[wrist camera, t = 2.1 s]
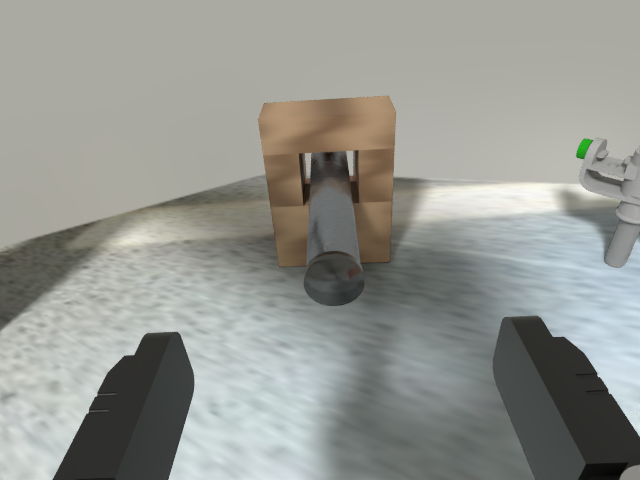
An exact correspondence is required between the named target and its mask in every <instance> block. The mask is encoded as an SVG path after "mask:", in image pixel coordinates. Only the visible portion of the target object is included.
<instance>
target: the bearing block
mask: <svg viewBox="0 0 640 480" xmlns="http://www.w3.org/2000/svg"><path fill="white" fill-rule="evenodd" d="M395 120H396V111H395V108H394V106H393V104H392V102H391V100H390V98H389V96H375V97H358V98H341V99H327V100H326V99H325V100H308V101H291V102H274V103H264V105H263V108H262V110H261V113H260V116H259V118H258V122H259V129H260V136H261V143H262V150H263V157H264V163H265V171H266V178H267V185H268V192H269V199H270V206H271V213H272V220H273V227H274V234H275V241H276V248H277V255H278V262H279V267H286V266H306V265H307V243H308V221H309V198H310V184H305V181H304V169H303V158H302V153H316V152H334V151H351V150H355V153H356V181H350V185H351V193H352V201H353V209H354V217H355V225H356V233H357V241H358V249H359V257H360V263H373V262H390V244H391V219H392V195H393V170H394V145H395Z"/></svg>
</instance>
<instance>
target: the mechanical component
mask: <svg viewBox="0 0 640 480" xmlns="http://www.w3.org/2000/svg"><path fill="white" fill-rule="evenodd" d="M606 146H607V140H606V139H601V138H596V139H595V140H590V139H583V140H582V142H581V143H580V145H579V148H578V150H577V155H576V156H577V158H580V159H584V162H583V165H582V168H581V171H580V175H579V180H580V183H581V185H582V186H583V187H584V188H585V189H586V190H588V191H591V192H594V193H597V194H601V195H604V196H608V197H611V198H615V199H618V200H621V202H620V205H619V207H618V208H616V210H615V214H616V216H617V217H618V218H620V220H619V223H618V225H617V228H616V231H615V234H614V236H613V239H612V241H611V243H610V246H609V249H608V251H607V254H606V256H605V262H606V263H607V264H608V265H610V266H613V267H617V268H620V267H622V266H623V265H624V264H625V263H626V262H627V259H628V257H629V256H630V253H631V251H632V249H633V246H634V243H635V241H636V238H637V236H638V234H639V232H640V146H639V148H637V149H636V150H635V153H634V155H633V156H628V157H627V158H626V159H625V160H620V159H615V158H611V157H607V155H608V151H606V150H605V149H606ZM611 166H614V167H611ZM598 172H602V173H606V174H609V175H613V176H618V177H621V178H624V181H620V180H616V179H612V178H608V177H605V176H602V175H600V174H599V173H598Z"/></svg>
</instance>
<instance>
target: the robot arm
mask: <svg viewBox="0 0 640 480" xmlns="http://www.w3.org/2000/svg"><path fill="white" fill-rule="evenodd" d="M493 372H494V378H495V381H496V385H497V387H498V390H499V392H500V394H501V397H502V399H503V402H504V404H505V407H506V409H507V412H508V414H509V416H510V419H511V421H512V424H513V426H514V429H515V431H516V434H517V436H518V438H519V441H520V443H521V446H522V448H523V451H524V453H525V456H526V458H527V460H528V463H529V465H530V468H531V470H532V473H533V475H534V478H535V480H640V437H639V435H638V434H637V432H636V431H635V429H634V428H633V426H632V425H631V423H630V422H629V420H628V419H627V417H626V416H625V414H624V413H623V411H622V410H621V408H620V407H619V405H618V404H617V402H616V401H615V399H614V398H613V396H612V395H611V394H609V392H608V389H607V387H606V385H605V384H604V382H603V381H602V379H601V378H600V377H598V376H597V372H596V370H595V369H594V367H593V366H592V364H591V363H590V361H589V360H588V358H587V357H586V355H585V354H584V353H583V352H582V351H581V350H579V349H578V348H577V347H576V346H575V345H573V344H572V343H571V342H570V341H568V340H567V339H566V338H565V337H552V335H551V333H550V332H549V330H548V329H547V327H546V325H545V324H544V322H543V321H542V319H541V318H540V317H538V316H520V317H505V318H504V319H503V320H502V323H501V327H500V331H499V336H498V340H497V345H496V349H495V353H494V358H493ZM193 392H194V373H193V369H192V367H191V364H190V361H189V358H188V355H187V352H186V349H185V347H184V344H183V341H182V338H181V336H180V334H179V333H178V332H163V333H147V334H145V335H144V337H143V338H142V340H141V342H140V344H139V346H138V349H137V351H136V353H135V355H130V356H124V357H123V358H122V359H121V360H120V361H119V362H118V363H117V364H116V365H115V366H114V367H113V368H112V369H111V370H110V371H109V372H108V373H107V375H106V377H105V379H104V381H103V383H102V385H101V387H100V389H99V391H98V393H97V394H98V395H97V397H95V398H94V400H93V402H92V404H91V406H90V408H89V413H88V414H86V416H85V418H84V420H83V422H82V424H81V426H80V428H79V430H78V432H77V434H76V435H75V437H74V439H73V441H72V443H71V445H70V447H69V449H68V451H67V453H66V455H65V457H64V459H63V461H62V463H61V465H60V467H59V469H58V471H57V472H56V474H55V476H54V478H53V480H168V479H169V475H170V472H171V468H172V465H173V462H174V458H175V455H176V451H177V448H178V445H179V441H180V438H181V434H182V431H183V428H184V424H185V421H186V417H187V414H188V410H189V407H190V404H191V400H192V397H193Z"/></svg>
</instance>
